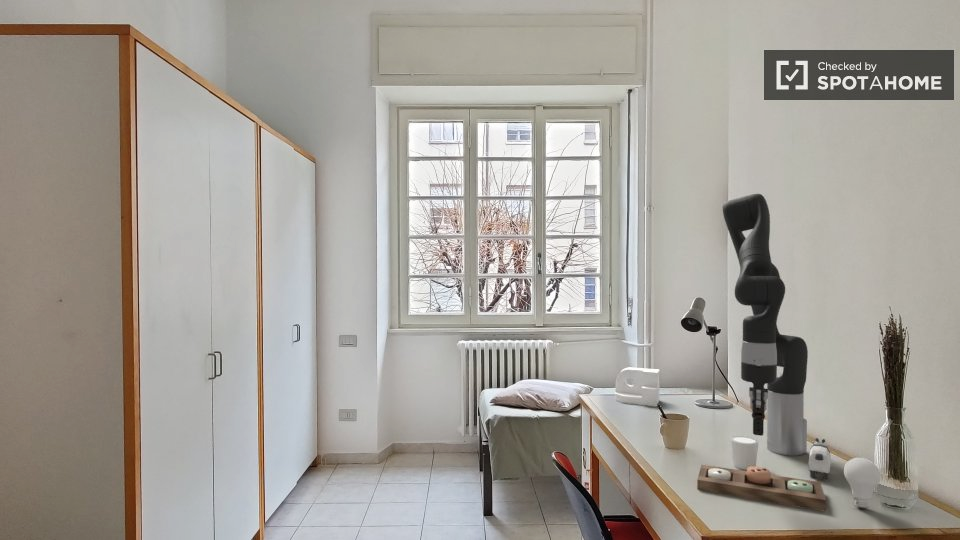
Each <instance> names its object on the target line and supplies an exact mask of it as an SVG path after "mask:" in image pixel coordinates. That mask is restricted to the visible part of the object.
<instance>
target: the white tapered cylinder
mask: <svg viewBox="0 0 960 540" xmlns="http://www.w3.org/2000/svg"><path fill="white" fill-rule="evenodd" d="M729 441H730V454H731V465H732V466H733V467H735V468H736V469H737V468H738V469H739V470H740V469H741V470H744V471H747V468H748V467H751V466H756V467H757V459H758V448H759V440H757V439H755V438H753V437H749V436H742V435H741V436H740V435H739V436H738V435H737V436H731V437H730V438H729Z"/></svg>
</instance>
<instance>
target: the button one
mask: <svg viewBox="0 0 960 540" xmlns="http://www.w3.org/2000/svg"><path fill="white" fill-rule="evenodd" d="M708 478H714V479H721V480H727V481H731V473H730V472H729V471H727V470H724V469H718V468H713V469H709V470H708Z"/></svg>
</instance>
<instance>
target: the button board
mask: <svg viewBox="0 0 960 540" xmlns="http://www.w3.org/2000/svg"><path fill="white" fill-rule="evenodd" d="M713 468H718V469H724V470H727V471H729V472H730V473H731V481H727V480H721V479H714V478H708V470H709V469H713ZM699 469H700V470H699V473H698V476H697V479H696V481H697V485H696V486H697V487H696V489H697V490H701V491H706V492H712V493H717V494H722V495H727V496H735V497H739V498H745V499H749V500H755V501H760V500H761V502H766V503H773V504H780V505H784V506H785V505H786V506H792V507H797V508H801V509H803V508H804V509H809V510H815V511H820V512H821V511H822V512H826V510H827V509H826V505H827V504H826V501H827V500H826V497H825V492H824V489H823V486H822V482H821V481H815V480H809V479H803V478H802V479H801V478H795V477H790V476H789V477H788V476H781V475H776V474H775V475H774V474H771V482H770V483H767V484H760V483H755V482H752V481H749V480H748V479H747V470H743V469H741V470H740V469H733V468H727V467H720V466H714V465H708V464H707V465H706V464H700V468H699ZM790 480H799V481H804V482H807V483H810V484H811V485H812V486H813V494H811V493H804V492H798V491H792V490H788V481H790Z"/></svg>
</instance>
